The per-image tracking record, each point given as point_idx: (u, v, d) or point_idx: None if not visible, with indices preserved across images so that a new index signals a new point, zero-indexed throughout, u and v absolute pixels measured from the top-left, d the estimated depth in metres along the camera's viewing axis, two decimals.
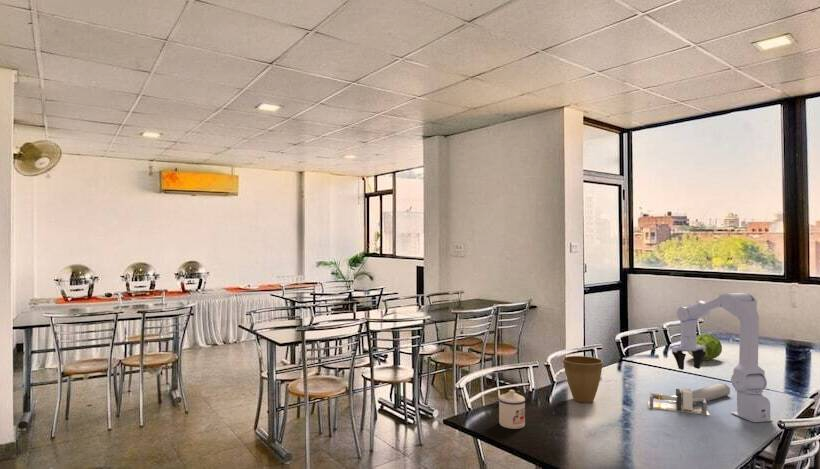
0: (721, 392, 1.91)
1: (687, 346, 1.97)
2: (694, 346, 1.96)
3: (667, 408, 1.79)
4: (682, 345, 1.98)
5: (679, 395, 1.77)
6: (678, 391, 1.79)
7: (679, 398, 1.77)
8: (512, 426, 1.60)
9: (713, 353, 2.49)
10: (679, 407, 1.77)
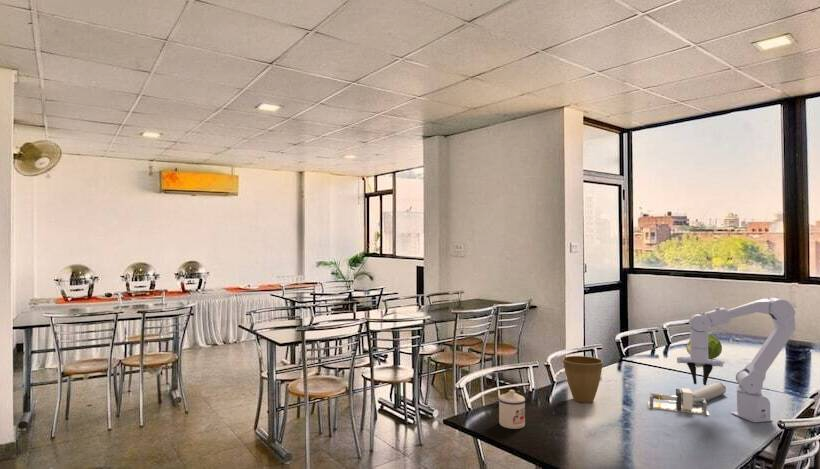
0: (718, 391, 1.92)
1: (693, 358, 1.77)
2: (701, 359, 1.75)
3: (667, 408, 1.79)
4: (690, 356, 1.79)
5: (679, 395, 1.77)
6: (678, 391, 1.79)
7: (679, 398, 1.77)
8: (512, 426, 1.60)
9: (713, 353, 2.49)
10: (679, 407, 1.77)
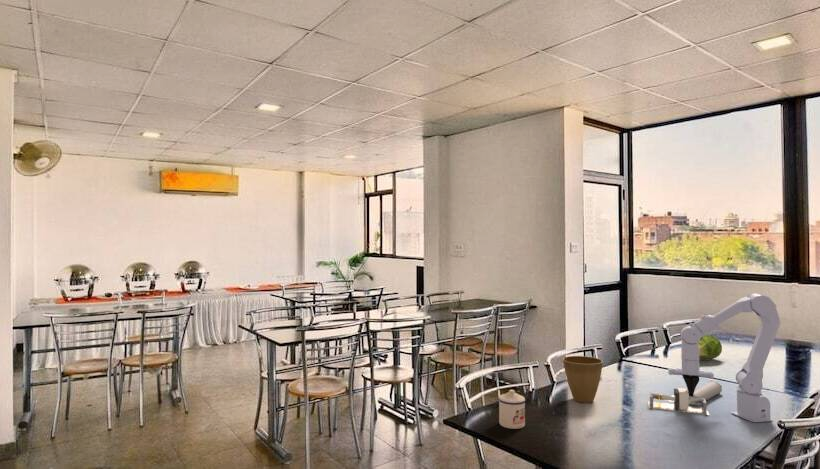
0: (715, 390, 1.93)
1: (684, 370, 1.78)
2: (692, 371, 1.76)
3: (667, 408, 1.79)
4: None
5: (677, 395, 1.77)
6: (676, 391, 1.80)
7: (677, 398, 1.77)
8: (512, 426, 1.60)
9: (713, 353, 2.49)
10: (677, 407, 1.77)
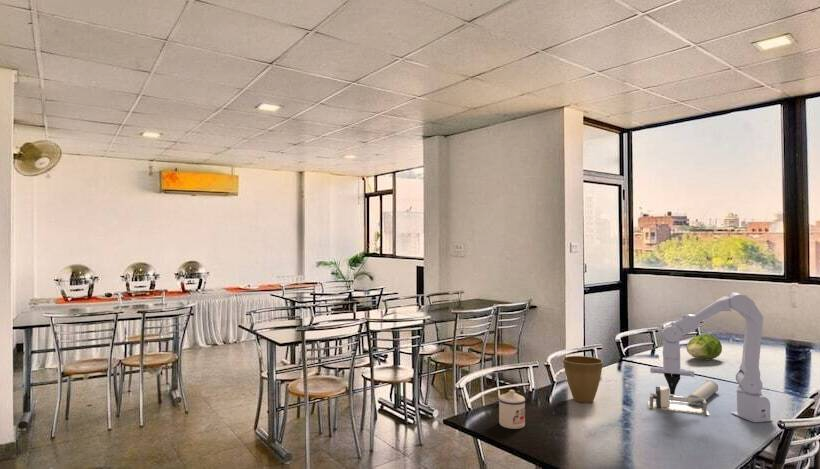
0: (713, 390, 1.94)
1: (665, 368, 1.80)
2: (673, 369, 1.78)
3: (667, 408, 1.79)
4: (663, 367, 1.82)
5: (658, 393, 1.80)
6: (658, 389, 1.82)
7: (658, 396, 1.80)
8: (512, 426, 1.60)
9: (713, 353, 2.49)
10: (658, 405, 1.80)
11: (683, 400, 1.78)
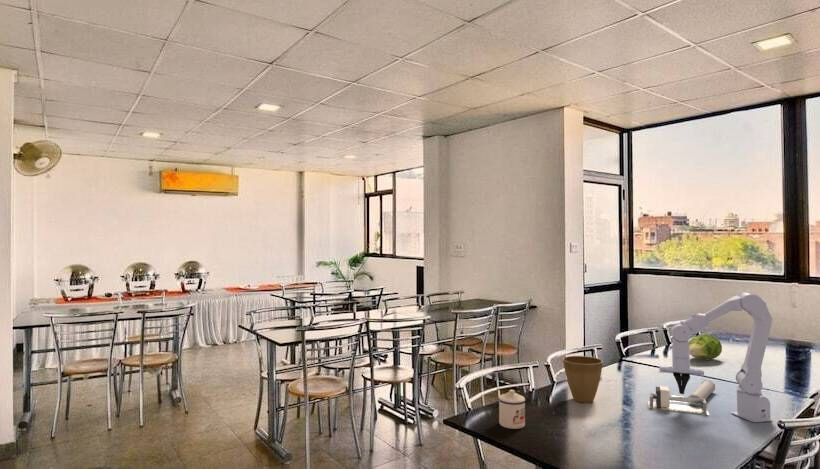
0: (711, 389, 1.94)
1: (675, 368, 1.79)
2: (683, 369, 1.77)
3: (667, 408, 1.79)
4: None
5: (658, 393, 1.80)
6: (658, 389, 1.82)
7: (658, 396, 1.80)
8: (512, 426, 1.60)
9: (713, 353, 2.49)
10: (658, 405, 1.80)
11: (683, 400, 1.78)
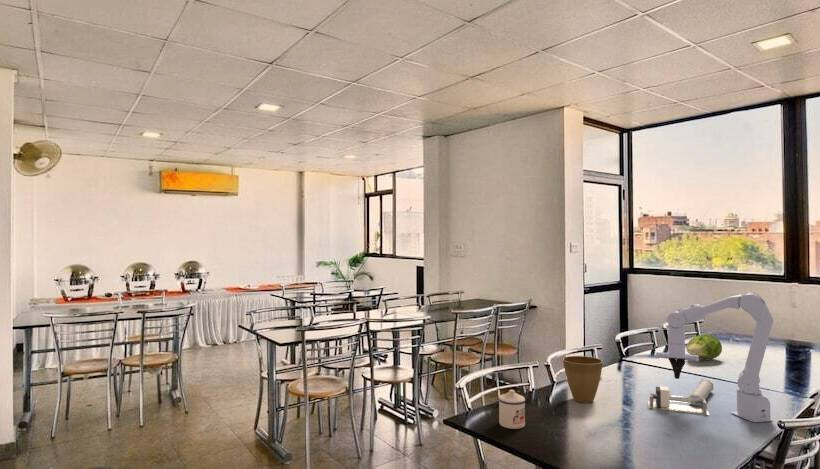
0: (710, 389, 1.95)
1: (670, 353, 1.84)
2: (678, 354, 1.82)
3: (667, 408, 1.79)
4: (668, 352, 1.86)
5: (658, 393, 1.80)
6: (658, 389, 1.82)
7: (658, 396, 1.80)
8: (512, 426, 1.60)
9: (713, 353, 2.49)
10: (658, 405, 1.80)
11: (683, 400, 1.78)
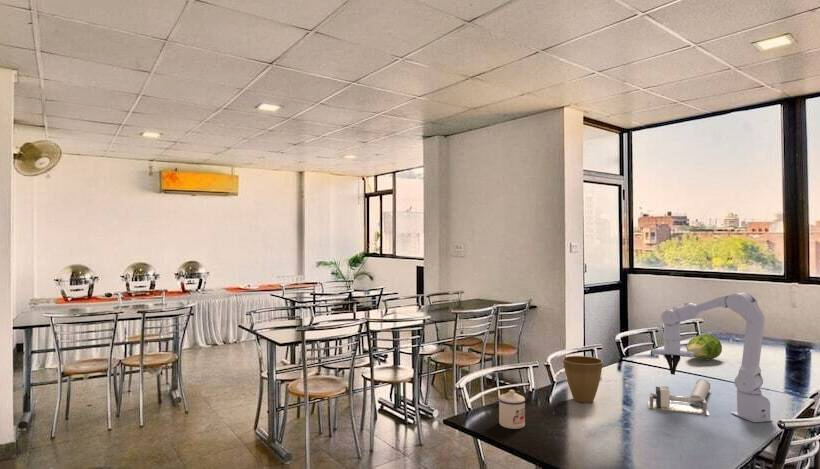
0: (708, 389, 1.95)
1: (666, 350, 1.91)
2: (673, 350, 1.89)
3: (667, 408, 1.79)
4: (664, 348, 1.93)
5: (658, 393, 1.80)
6: (658, 389, 1.82)
7: (658, 396, 1.80)
8: (512, 426, 1.60)
9: (713, 353, 2.49)
10: (658, 405, 1.80)
11: (683, 400, 1.78)
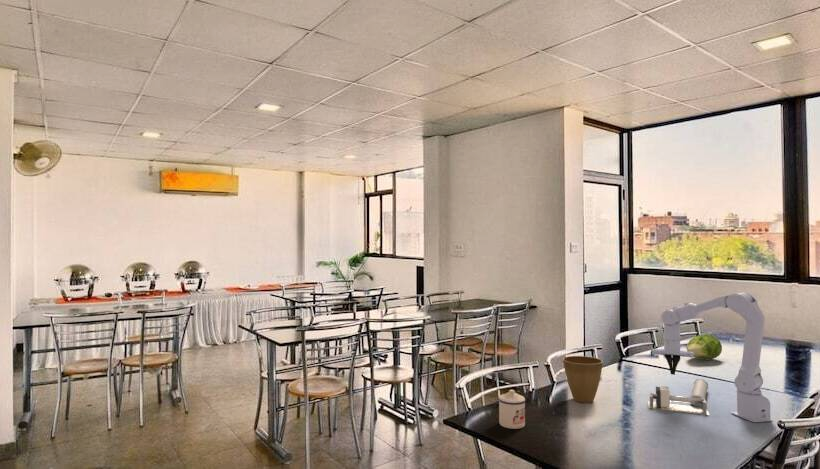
0: (706, 388, 1.96)
1: (666, 350, 1.91)
2: (673, 350, 1.89)
3: (667, 408, 1.79)
4: (664, 348, 1.93)
5: (658, 393, 1.80)
6: (658, 389, 1.82)
7: (658, 396, 1.80)
8: (512, 426, 1.60)
9: (713, 353, 2.49)
10: (658, 405, 1.80)
11: (683, 400, 1.78)
